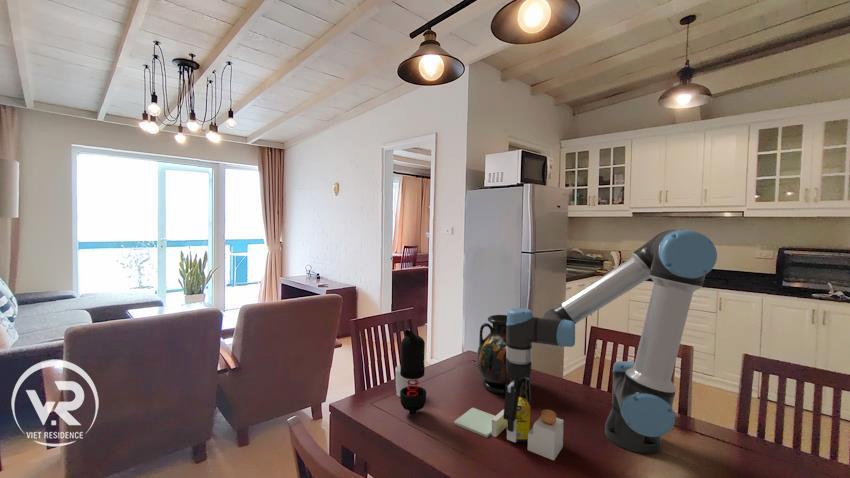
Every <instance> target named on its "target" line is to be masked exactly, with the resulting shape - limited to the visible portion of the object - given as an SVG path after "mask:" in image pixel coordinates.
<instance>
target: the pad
mask: <svg viewBox="0 0 850 478" xmlns="http://www.w3.org/2000/svg"><path fill="white" fill-rule="evenodd" d="M495 416H496V415H494V414H491V413H488V412H486V411H482V410H480V409H478V408H475V407H471V408H470V409H469V410H467V411H466V412H464V413H463V414H461V415H460V416H459V417H458V418H456V419H455V420H454V421H453V425H454V426H457V427H460V428H463V429H464V430H467V431H470V432H472V433H475V434H477V435H479V436H481V437H484V438H486V439H487V438H489V437H490V436H491V433H492V419H493V418H494V417H495Z"/></svg>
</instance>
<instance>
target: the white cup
mask: <svg viewBox="0 0 850 478" xmlns="http://www.w3.org/2000/svg"><path fill="white" fill-rule="evenodd" d="M400 365H401V364H399V365H397V366H395V370H394V371H395V389H396V396H397V397H399V398H400V391H401V390H402V389H403V388H405V387H408V383H407V381H409V380H415V379H406V378H404V377H402V376H401V375H400V371H401V370H400V369H401V368H400ZM409 383H411V384H415V381H410V382H409ZM409 386H410V385H409Z"/></svg>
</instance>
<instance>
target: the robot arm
mask: <svg viewBox="0 0 850 478" xmlns="http://www.w3.org/2000/svg"><path fill="white" fill-rule="evenodd" d="M630 256H631V257H630V258H628V259H627V260H625V261H624V262H623V263H621V264H620V265H618V266H616V267H615V268H613V269H611V270H610V271H609V272H607V273H605V274H604V275H603V276H601V277H600V278H598V279H597V280H594V282H592V283H590V284H589V285H587V286H586V287H584V288H582V289H581V290H580V291H578V292H577V293H575V294H573V295H572V296H570V297H568V298H567V299H566V300H565V301H563V302H562V303H560V304H558V305H556V306H555V307H551V308H550V309H548V310H547V311H545V313H544V314H543V317H536V316H534V315H533V311H532V310H531V309H528V308H523V307H514V308H509V310H508V311H507V314H506V315H507V323H506V342H507V343H506V345H507V346H506V347H505V349H506V358H507V360H506V372H507V373H508V374H510V376H511V378H510V383H509V385H507V384H506V385H505V392H506V393H505V394H504V395H505V396H504V406H503V407H504V408H503V409H504V416H503V418H504V419H506V420H507V432H506V440H508V441H510V442H512V443H517V442H516V437H517V420H516V419H515V418H516V412H517V406H518V400H519V397H523V398H526V400H527V401H528V403H529V405H530V409H532V404H531V403H532V393H531V391H532V389H531V375H532V368H533V367H532V365H533V364H532V361H533V343H535V344H540V345H547V346H548V345H549V346H557V347H561V348H563V347H565V348H566V347H567V348H573V347H574V346H575V345H576V324H577V323H579V322H581V321H582V320H584V319H585V318H587V317H589V316H590V315H592V314H594V313H595V312H597V311H599V310H600V309H601V308H603V307H606V306H607V305H608V304H610V303H611V302H613V301H615V300H617V299H618V298H619V297H621V296H623V295H624V294H626V293H628V292H630V290H632V289H635V288H636V287H637V286H639V285H641V284H643V282H646V281H647V280H649V279H651V281H653V285H652V286H653V287H652V289H651V295H650V298H649V302H648V307H647V311H646V314H645V315H646V316H645V320H644V322H643V326H642V331H641V335H640V338H639V339H640V340H639V344H638V348H637V353H636V355H635V356H636V357H635V359H634V360H635V361H627V360H624V361H623V360H620V361H615V362H614V364H613V369H612V371H611V372H612V394H611V399H612V400H611V410H610V412H609V415H608V416H607V419H606V422H605V424H604V434H605V436H606V437H607V439H608V440H610V442H612V443H613V444H615V445H616V446H619V447H621V448H623V449H626V450H628V451H632V452H635V453H638V454H647V455H648V454H649V455H650V454H657V453H659V452H661V450H663V437H662V436H664V435H667V434H668V433H670V431H671V430H672V429H673V428H674V425H675V420H676V418H675V417H676V415H675V410H674V409H673V407H672V406H673V404H674V399H675V396H676V391H677V387H676V386H675V385H674V383H673V381H672V378H673V373H674V368H675V364H676V361H677V359H678V353H679V350H680V347H681V346H680V345H681V342H682V338H683V335H684V331H685V325H686V323H687V322H686V321H687V319H688V313H689V311H690V306H691V302H692V298H693V295H694V292H696V291H698V290H700V289H702V288H703V286H704V281H705V278H706V275H707V274H708V273H709V272H711V271H712V270H713V268H714V267H715V265H716V263H717V260H718V252H717V248H716V246H715V244H714V243H713V241H712V239H710V237H708V236H707V235H705V234H703V233H701V232H699V231H698V232H697V231H696V230H691V229H683V228H682V229H670V230H665V231H662V232H659V233H658V234H656V235H655V236H653V237H652V238H651V239H649V240H648V241H647V242H645V243H644V244H643V245H641V246H640V247H639V248H638V249H636V250H635V251H633V252H632V253H631V255H630ZM515 392H518V393H515Z"/></svg>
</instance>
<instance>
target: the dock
mask: <svg viewBox="0 0 850 478" xmlns="http://www.w3.org/2000/svg"><path fill="white" fill-rule="evenodd" d="M494 416H495V417H494V418H493V419H492V433H491V434H490V436H492V437H494V438H497V437H498V436H499V435H500V434H501V433H502V432H503V431H504V430H506V419H504V418H503V416H504V408H503V409H502V410H501V411H499V412H498V413H497V414H496V415H494ZM563 447H564V419H561V418H559V417H556V422H555V423H553V424H551V425H549V424H546V422H544V421H542V419H541V415H540V416H539V418H537V419H536V421H535V422H534V423H533V425H532V428H531V429H530V431H529V432H528V442H527V451H529V452H531V453H533V454H537V455H538V456H541V457H544V458H547V459H549V460H551V461H556V459H557V457H558V455H559V454H560V452H561V450H562V449H563Z"/></svg>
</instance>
